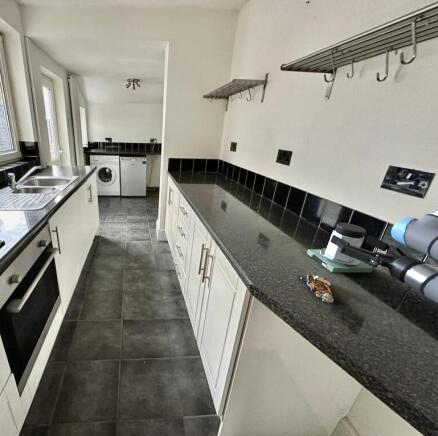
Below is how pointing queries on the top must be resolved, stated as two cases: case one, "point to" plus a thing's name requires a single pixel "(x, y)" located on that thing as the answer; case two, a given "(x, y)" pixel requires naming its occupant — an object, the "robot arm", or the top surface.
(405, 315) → the top surface
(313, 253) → the kitchen scale
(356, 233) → the jar
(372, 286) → the top surface
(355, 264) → the weighing pan
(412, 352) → the top surface
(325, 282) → the pastry
